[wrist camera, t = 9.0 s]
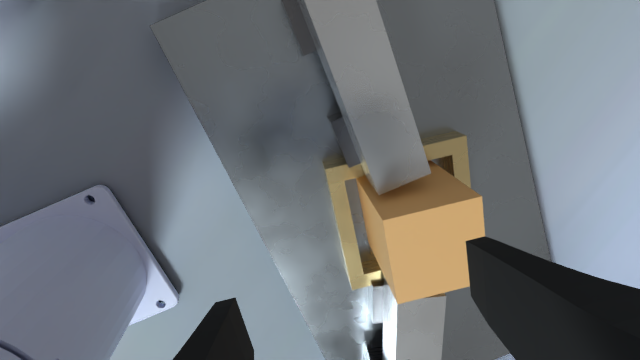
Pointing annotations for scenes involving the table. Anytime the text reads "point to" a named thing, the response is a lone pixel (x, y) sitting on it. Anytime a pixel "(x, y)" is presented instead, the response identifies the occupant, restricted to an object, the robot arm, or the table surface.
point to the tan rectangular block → (422, 232)
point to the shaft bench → (298, 138)
